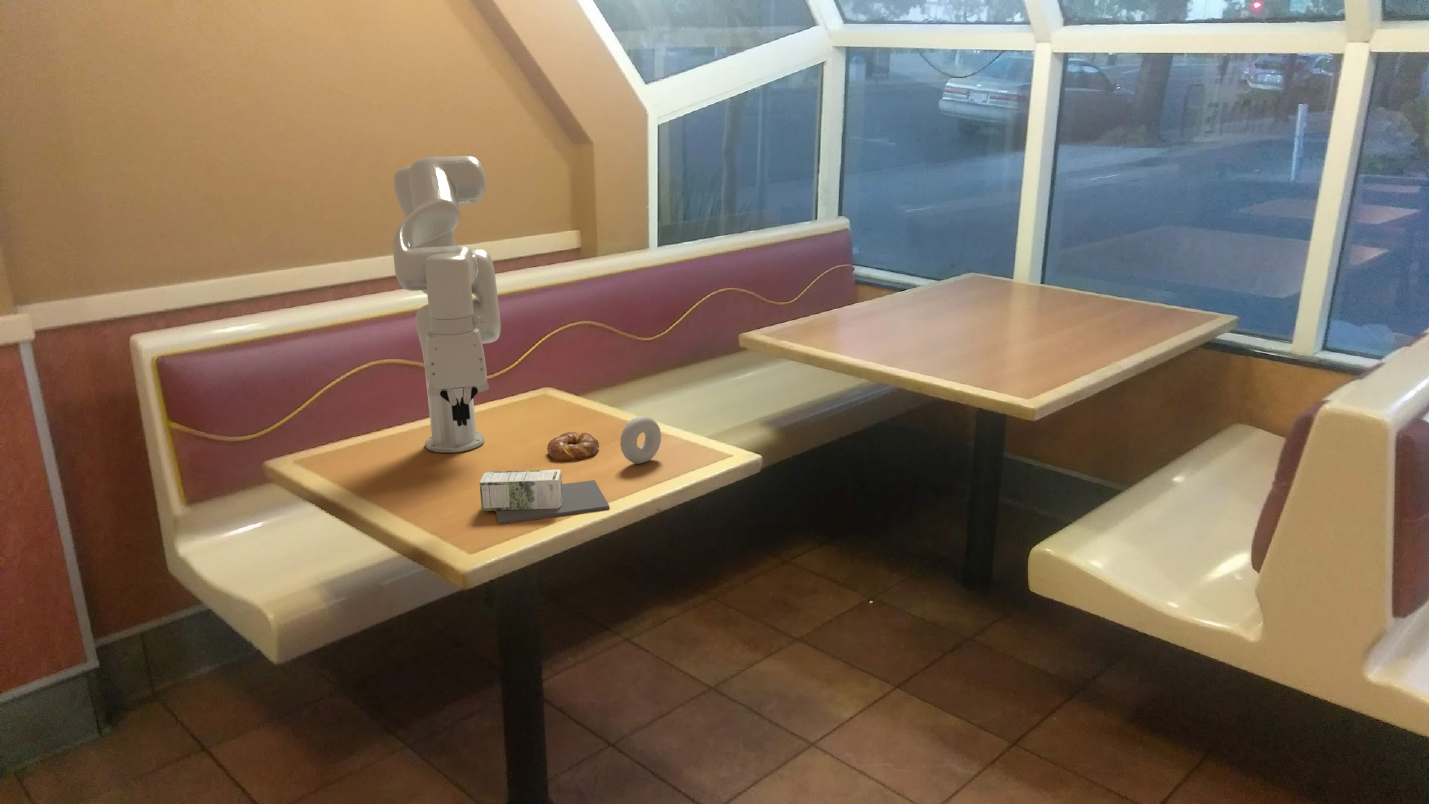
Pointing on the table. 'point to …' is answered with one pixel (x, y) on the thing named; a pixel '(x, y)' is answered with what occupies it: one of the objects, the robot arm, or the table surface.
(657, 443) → the donut
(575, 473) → the table surface
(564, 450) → the pretzel
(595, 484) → the mat
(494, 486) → the syrup box
